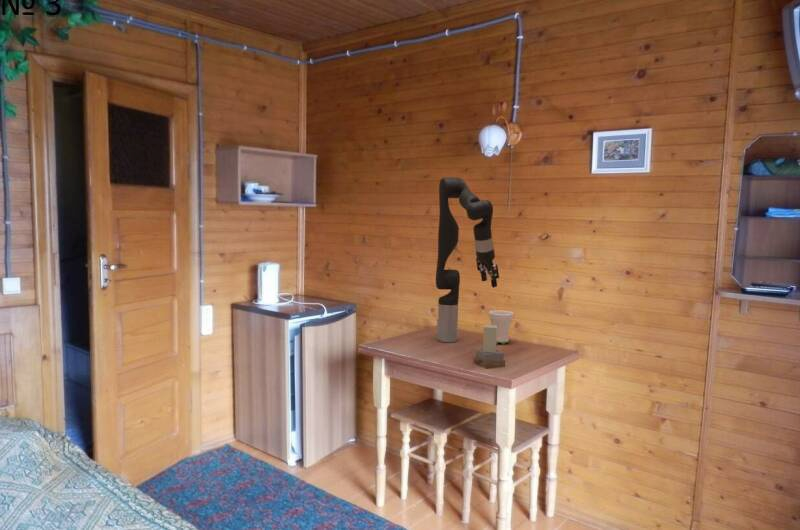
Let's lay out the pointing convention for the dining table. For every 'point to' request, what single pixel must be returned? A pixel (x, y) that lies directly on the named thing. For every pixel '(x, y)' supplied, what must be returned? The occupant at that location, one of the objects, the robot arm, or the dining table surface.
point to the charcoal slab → (489, 356)
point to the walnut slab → (488, 363)
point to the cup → (501, 324)
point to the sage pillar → (489, 338)
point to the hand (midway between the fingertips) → (489, 283)
